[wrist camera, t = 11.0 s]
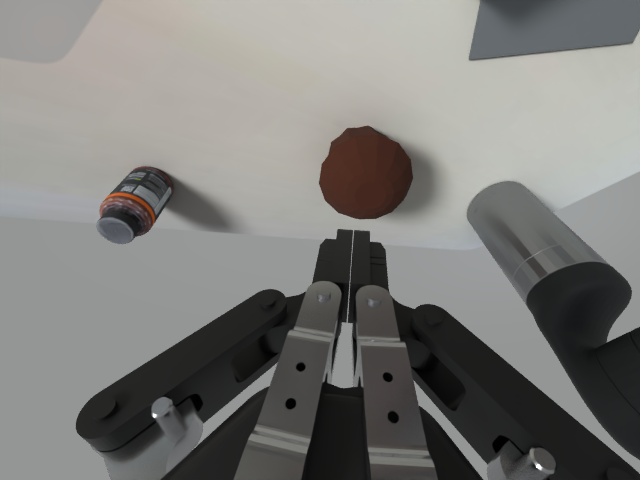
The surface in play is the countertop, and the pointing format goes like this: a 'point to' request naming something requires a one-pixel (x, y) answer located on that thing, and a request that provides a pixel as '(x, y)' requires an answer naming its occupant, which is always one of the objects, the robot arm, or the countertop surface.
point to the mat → (552, 25)
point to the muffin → (365, 174)
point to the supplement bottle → (134, 205)
